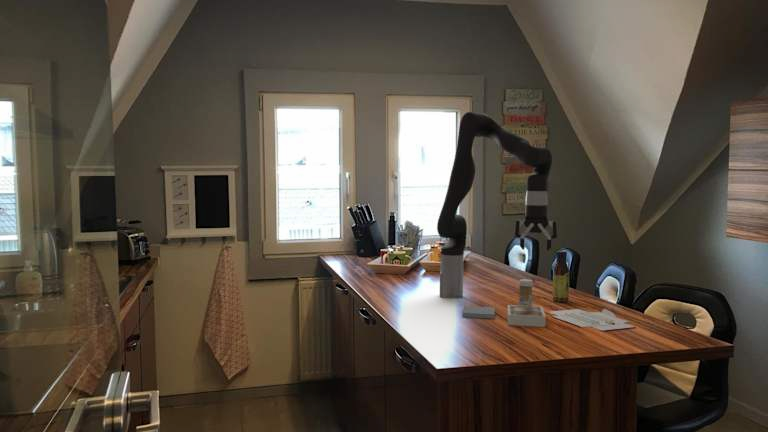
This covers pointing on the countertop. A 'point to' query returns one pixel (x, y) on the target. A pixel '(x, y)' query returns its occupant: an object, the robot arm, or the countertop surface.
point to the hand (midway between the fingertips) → (535, 249)
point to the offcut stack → (526, 311)
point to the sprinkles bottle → (525, 293)
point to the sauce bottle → (561, 278)
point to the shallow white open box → (525, 317)
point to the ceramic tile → (478, 312)
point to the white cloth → (591, 319)
